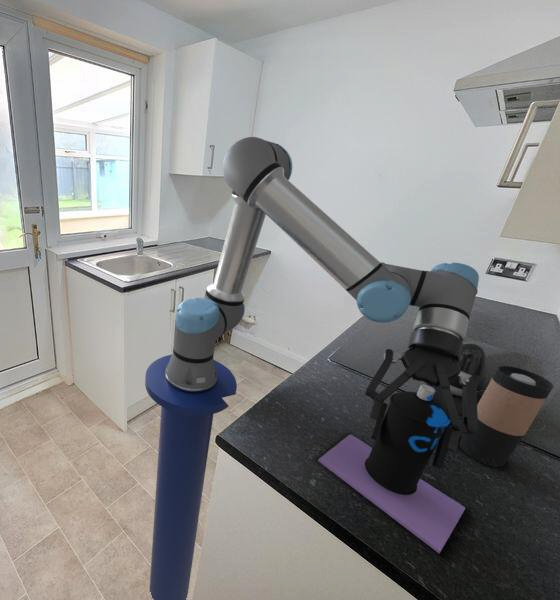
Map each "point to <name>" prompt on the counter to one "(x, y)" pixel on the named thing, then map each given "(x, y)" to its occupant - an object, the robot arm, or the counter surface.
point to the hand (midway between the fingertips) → (404, 451)
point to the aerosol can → (406, 440)
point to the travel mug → (505, 414)
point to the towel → (396, 495)
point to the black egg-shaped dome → (470, 366)
